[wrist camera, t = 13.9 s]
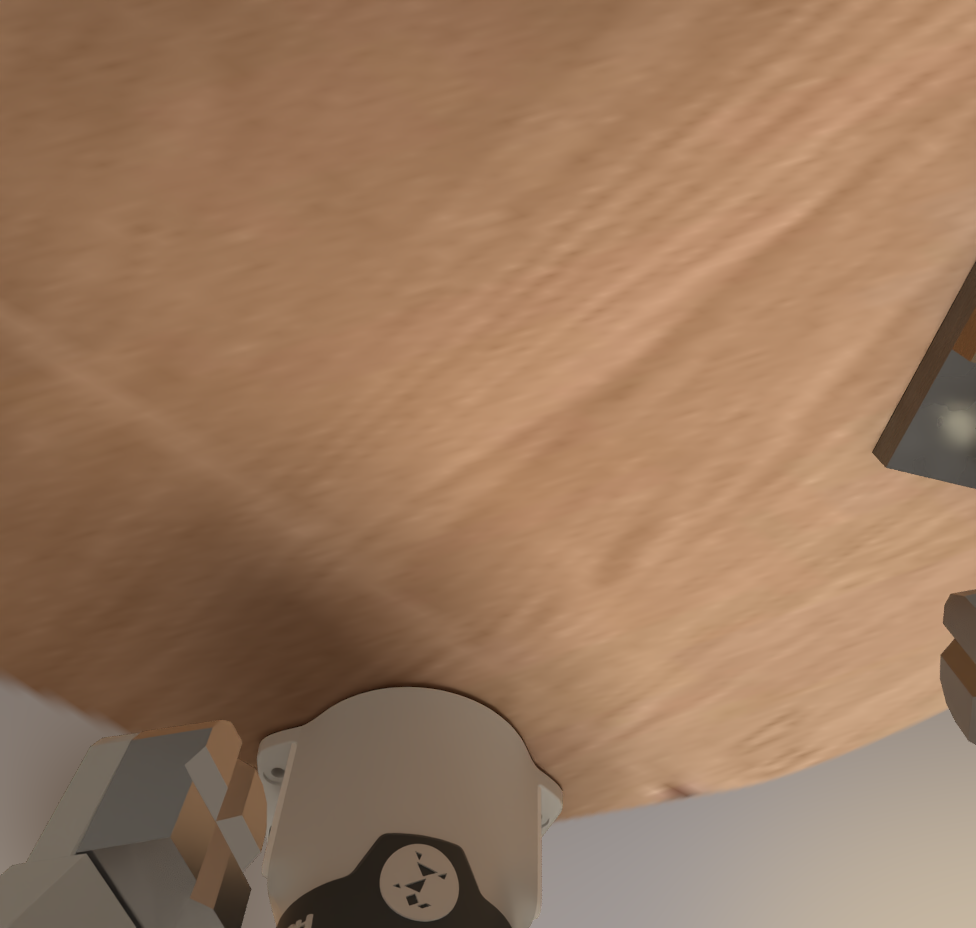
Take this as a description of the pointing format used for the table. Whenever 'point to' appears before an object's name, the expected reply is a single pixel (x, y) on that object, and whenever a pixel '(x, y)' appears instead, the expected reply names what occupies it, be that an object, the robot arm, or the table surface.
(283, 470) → the table surface
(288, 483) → the table surface
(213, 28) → the table surface
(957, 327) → the plate with brass posts
